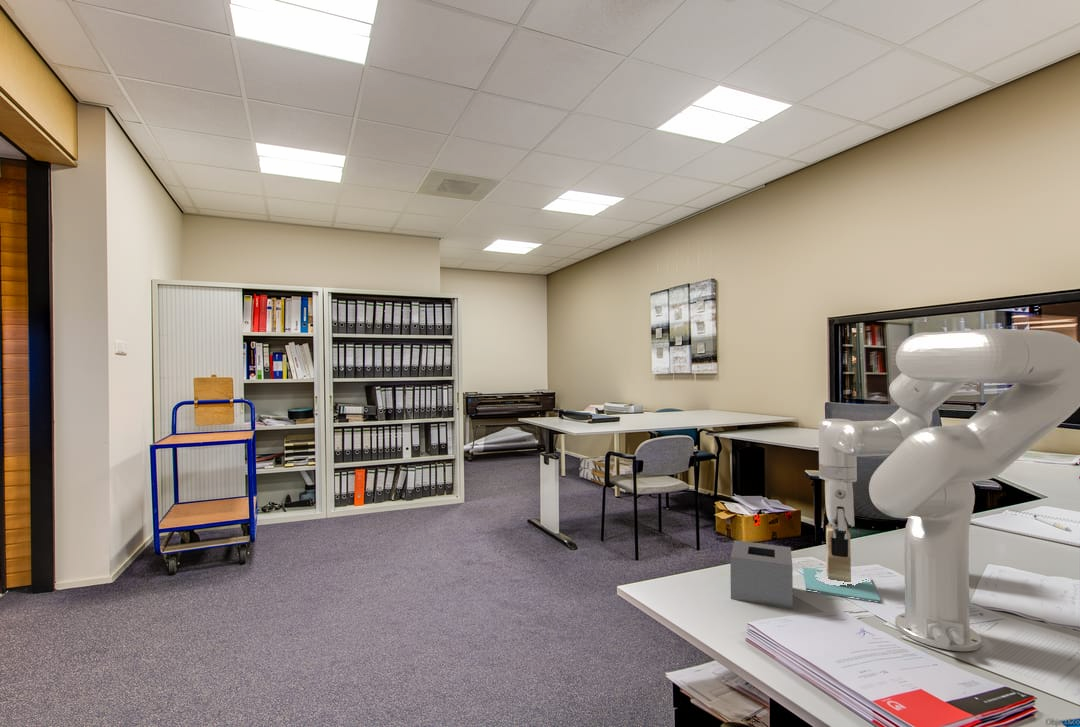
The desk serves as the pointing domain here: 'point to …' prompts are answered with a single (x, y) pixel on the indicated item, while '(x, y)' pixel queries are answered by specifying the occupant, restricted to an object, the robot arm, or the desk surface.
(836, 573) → the oak plug
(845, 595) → the teal mat
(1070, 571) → the desk surface
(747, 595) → the grey block with hole
